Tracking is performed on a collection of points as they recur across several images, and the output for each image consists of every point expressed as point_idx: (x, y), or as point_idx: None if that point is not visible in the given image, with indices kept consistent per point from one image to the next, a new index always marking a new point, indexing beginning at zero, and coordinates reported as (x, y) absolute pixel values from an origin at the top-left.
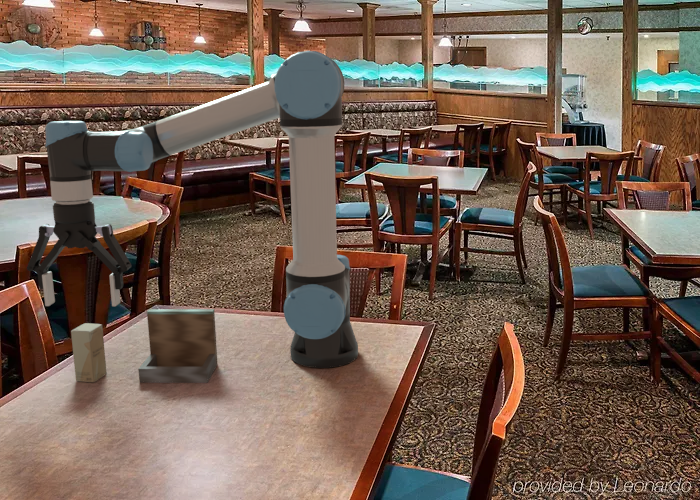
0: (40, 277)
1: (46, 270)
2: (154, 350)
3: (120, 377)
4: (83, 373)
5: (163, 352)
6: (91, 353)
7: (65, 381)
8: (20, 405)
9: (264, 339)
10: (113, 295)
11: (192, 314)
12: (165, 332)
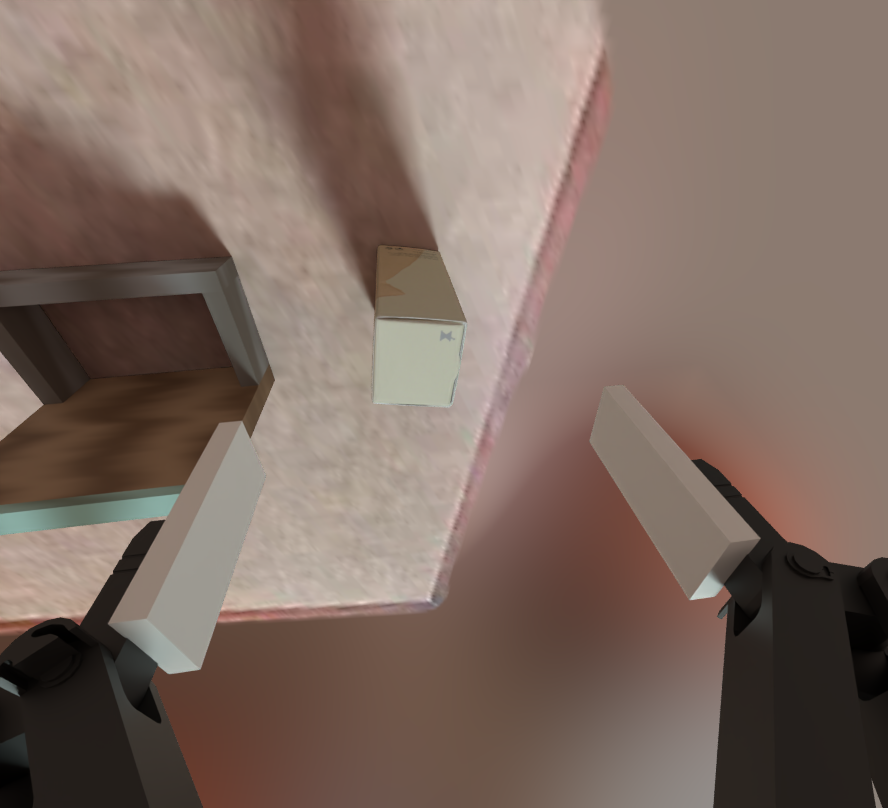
0: (751, 526)
1: (733, 598)
2: (241, 392)
3: (318, 290)
4: (412, 255)
5: (215, 392)
6: (377, 280)
7: (471, 250)
8: (548, 28)
9: (88, 530)
10: (200, 471)
11: (11, 503)
12: (174, 436)
